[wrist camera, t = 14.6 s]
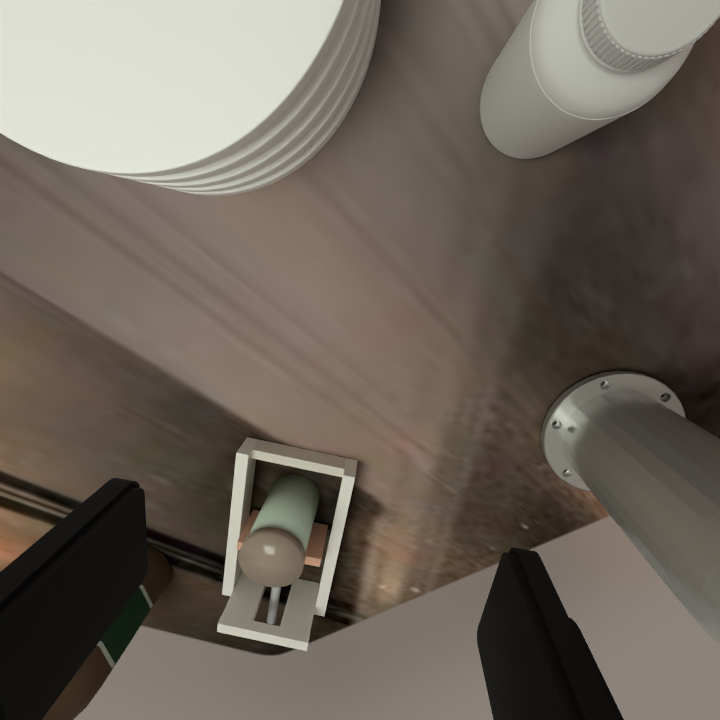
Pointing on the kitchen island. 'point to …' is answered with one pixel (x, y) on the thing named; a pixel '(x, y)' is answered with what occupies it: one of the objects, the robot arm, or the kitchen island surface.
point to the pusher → (311, 558)
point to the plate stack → (182, 85)
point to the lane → (302, 592)
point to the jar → (281, 533)
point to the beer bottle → (113, 641)
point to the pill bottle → (584, 67)
